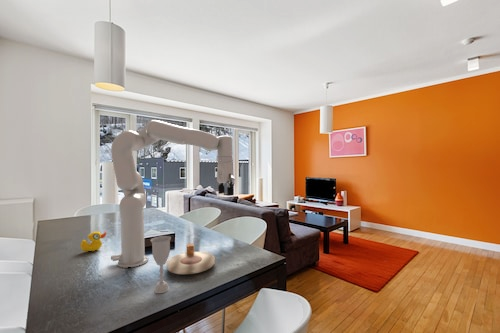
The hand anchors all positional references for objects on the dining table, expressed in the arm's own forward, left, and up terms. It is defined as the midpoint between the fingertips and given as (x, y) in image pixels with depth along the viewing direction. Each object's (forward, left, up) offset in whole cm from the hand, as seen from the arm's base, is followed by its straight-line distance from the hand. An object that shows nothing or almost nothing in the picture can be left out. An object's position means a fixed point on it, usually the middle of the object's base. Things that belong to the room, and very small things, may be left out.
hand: (225, 194), depth 121 cm
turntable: (-18, -14, -27) cm, 36 cm away
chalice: (-29, -29, -29) cm, 50 cm away
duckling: (-66, +25, -29) cm, 77 cm away
